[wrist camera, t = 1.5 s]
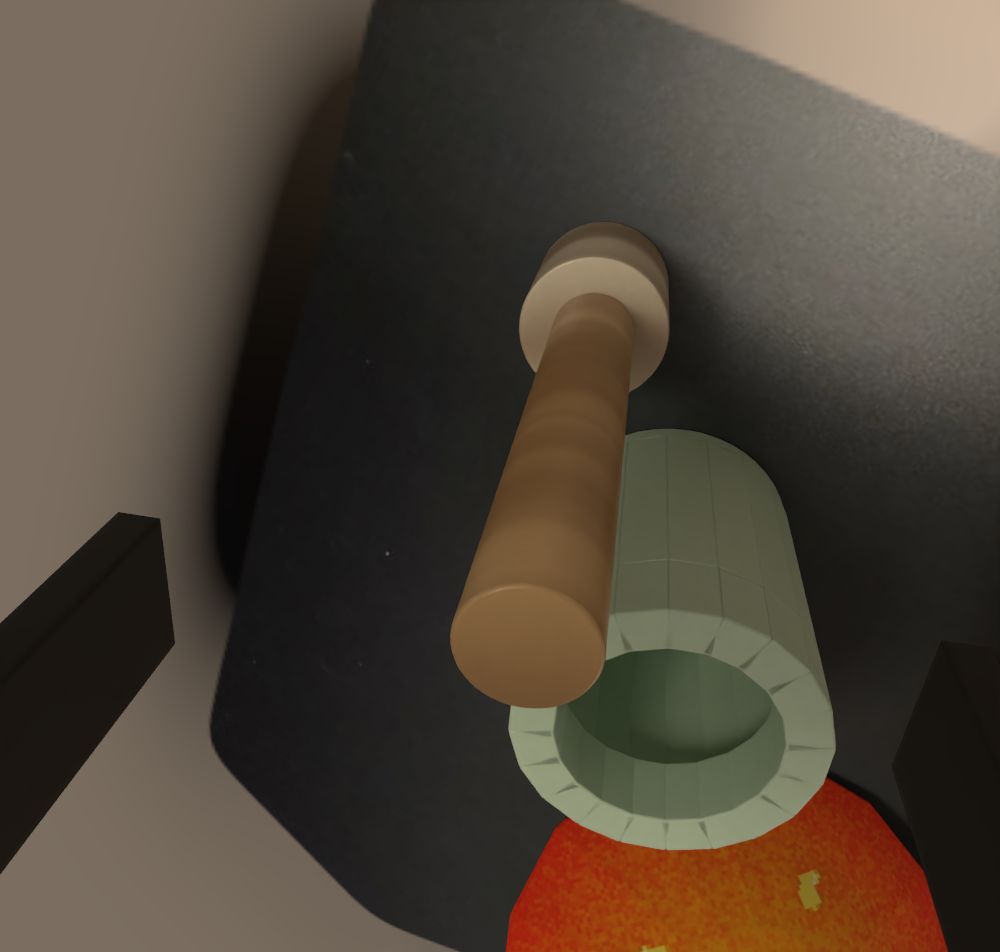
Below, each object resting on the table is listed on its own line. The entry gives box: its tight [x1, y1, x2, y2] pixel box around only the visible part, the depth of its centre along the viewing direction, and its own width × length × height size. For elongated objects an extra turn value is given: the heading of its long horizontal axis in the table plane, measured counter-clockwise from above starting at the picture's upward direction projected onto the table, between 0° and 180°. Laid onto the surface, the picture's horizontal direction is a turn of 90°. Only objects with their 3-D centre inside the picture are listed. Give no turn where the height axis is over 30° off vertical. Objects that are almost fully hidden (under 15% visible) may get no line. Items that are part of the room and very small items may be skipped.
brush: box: [450, 222, 669, 709], centre depth 24 cm, size 5×5×21 cm
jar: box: [508, 429, 836, 850], centre depth 32 cm, size 10×10×12 cm
